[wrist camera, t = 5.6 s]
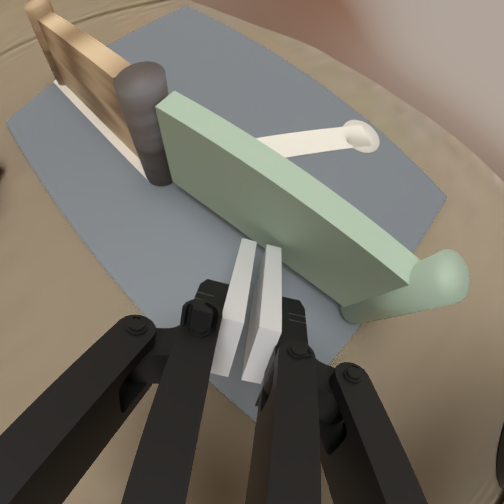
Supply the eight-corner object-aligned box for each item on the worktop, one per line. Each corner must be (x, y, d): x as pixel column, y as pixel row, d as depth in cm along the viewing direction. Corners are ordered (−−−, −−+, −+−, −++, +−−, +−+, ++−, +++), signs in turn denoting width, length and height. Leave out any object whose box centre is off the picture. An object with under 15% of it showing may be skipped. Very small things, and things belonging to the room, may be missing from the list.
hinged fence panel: (169, 190, 19) (142, 88, 11) (190, 167, 20) (178, 61, 11) (359, 330, 18) (459, 313, 9) (375, 303, 19) (475, 270, 10)
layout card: (444, 198, 23) (448, 196, 22) (264, 428, 17) (265, 431, 16) (186, 8, 27) (186, 5, 26) (7, 125, 21) (5, 122, 20)
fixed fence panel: (188, 173, 21) (174, 59, 11) (161, 196, 20) (127, 88, 11) (75, 70, 23) (45, -11, 13) (55, 85, 22) (19, 5, 13)
